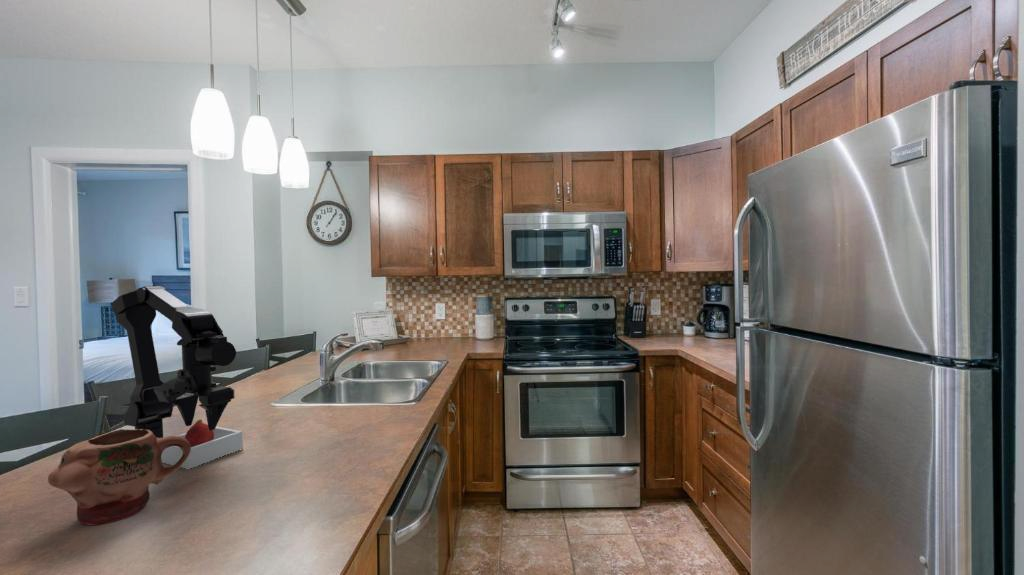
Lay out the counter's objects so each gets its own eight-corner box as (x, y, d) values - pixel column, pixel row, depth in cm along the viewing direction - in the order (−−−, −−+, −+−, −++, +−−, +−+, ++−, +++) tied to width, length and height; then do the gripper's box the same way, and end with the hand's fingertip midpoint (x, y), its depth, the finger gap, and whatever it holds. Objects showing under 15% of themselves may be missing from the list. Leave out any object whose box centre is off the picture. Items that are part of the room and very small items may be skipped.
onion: (200, 457, 105) (197, 423, 105) (179, 456, 106) (177, 423, 106) (220, 448, 111) (218, 416, 111) (201, 447, 112) (198, 416, 112)
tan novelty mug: (188, 480, 95) (184, 415, 94) (197, 500, 86) (193, 428, 85) (53, 516, 81) (49, 441, 81) (47, 545, 72) (42, 460, 72)
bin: (156, 461, 105) (155, 442, 105) (211, 442, 117) (210, 425, 117) (188, 469, 100) (187, 449, 100) (243, 449, 112) (242, 431, 111)
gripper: (136, 368, 105) (139, 434, 105) (183, 373, 97) (187, 444, 97) (187, 359, 115) (190, 419, 115) (234, 363, 107) (237, 428, 107)
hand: (200, 427), depth 108 cm, fingers open, 9 cm apart
